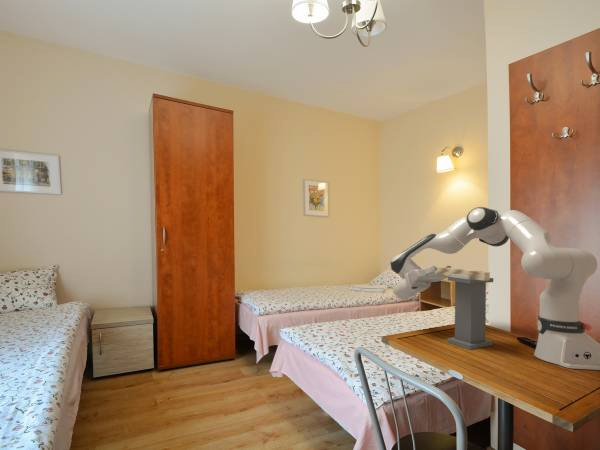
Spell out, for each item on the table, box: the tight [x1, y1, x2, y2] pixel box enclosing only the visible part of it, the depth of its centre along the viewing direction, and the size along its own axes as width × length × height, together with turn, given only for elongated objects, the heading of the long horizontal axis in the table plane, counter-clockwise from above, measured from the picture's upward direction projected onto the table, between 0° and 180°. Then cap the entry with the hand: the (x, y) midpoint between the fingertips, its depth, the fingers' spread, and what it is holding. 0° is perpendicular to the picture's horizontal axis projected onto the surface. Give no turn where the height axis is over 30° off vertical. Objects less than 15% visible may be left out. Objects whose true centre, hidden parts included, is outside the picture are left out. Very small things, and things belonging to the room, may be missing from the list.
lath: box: [435, 266, 491, 281], centre depth 139 cm, size 22×3×3 cm, turn 28°
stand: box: [446, 274, 494, 350], centre depth 138 cm, size 10×14×27 cm
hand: (442, 267), depth 147 cm, fingers open, 8 cm apart
